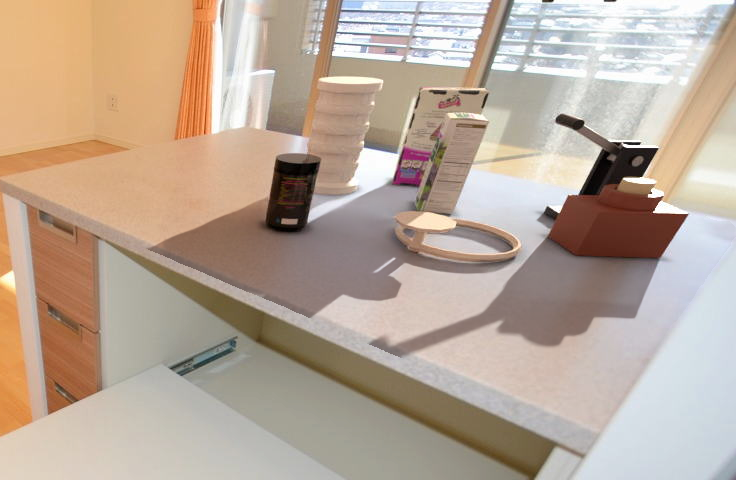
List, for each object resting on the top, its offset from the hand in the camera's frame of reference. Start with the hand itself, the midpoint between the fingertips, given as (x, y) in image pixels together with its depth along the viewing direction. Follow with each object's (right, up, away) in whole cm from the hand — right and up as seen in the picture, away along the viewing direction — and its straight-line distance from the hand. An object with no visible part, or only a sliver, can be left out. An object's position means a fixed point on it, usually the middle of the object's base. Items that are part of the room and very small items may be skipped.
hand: (577, 2), depth 80 cm
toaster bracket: (+9, -30, +8) cm, 32 cm away
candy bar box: (-7, -15, +27) cm, 32 cm away
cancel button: (+3, -31, -5) cm, 31 cm away
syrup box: (-12, -25, +15) cm, 32 cm away
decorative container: (-26, -16, +27) cm, 41 cm away
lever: (+3, -21, +1) cm, 21 cm away
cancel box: (+3, -37, 0) cm, 37 cm away
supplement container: (-41, -30, +9) cm, 52 cm away
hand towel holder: (-19, -36, +2) cm, 40 cm away
